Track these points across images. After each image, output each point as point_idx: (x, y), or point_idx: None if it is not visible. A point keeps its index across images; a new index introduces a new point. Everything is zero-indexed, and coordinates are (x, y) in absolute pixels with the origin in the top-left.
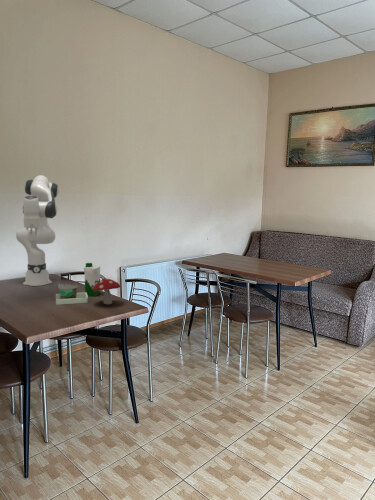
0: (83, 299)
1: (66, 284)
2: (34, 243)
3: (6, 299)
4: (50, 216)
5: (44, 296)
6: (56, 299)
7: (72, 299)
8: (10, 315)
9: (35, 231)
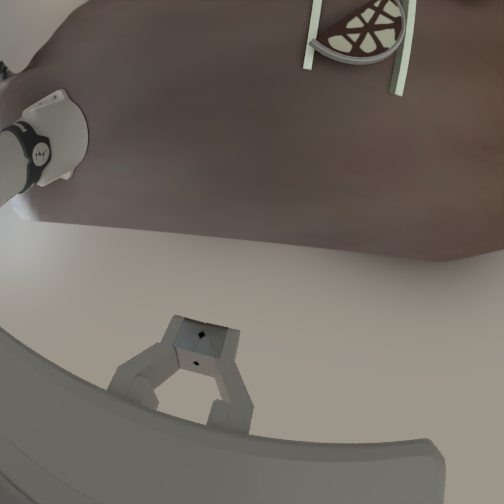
0: (414, 2)
1: (350, 21)
2: (165, 356)
3: (241, 234)
4: None
5: (245, 106)
6: (396, 91)
7: (411, 37)
8: (424, 247)
9: (25, 468)
